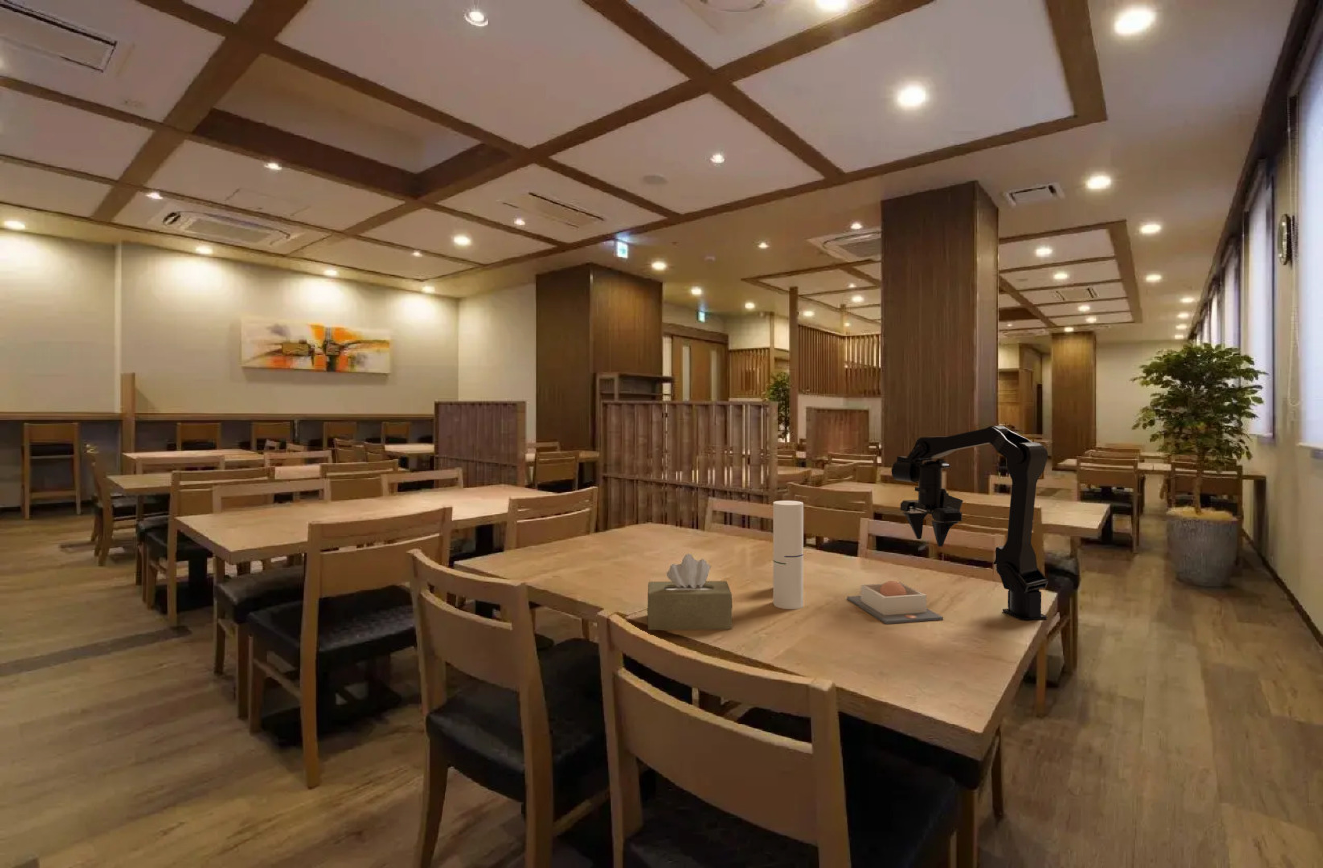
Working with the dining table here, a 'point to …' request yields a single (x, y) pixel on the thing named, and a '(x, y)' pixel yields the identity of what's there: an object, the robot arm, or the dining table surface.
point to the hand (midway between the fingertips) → (929, 542)
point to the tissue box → (689, 599)
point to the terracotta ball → (892, 589)
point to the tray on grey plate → (894, 605)
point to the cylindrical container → (788, 554)
